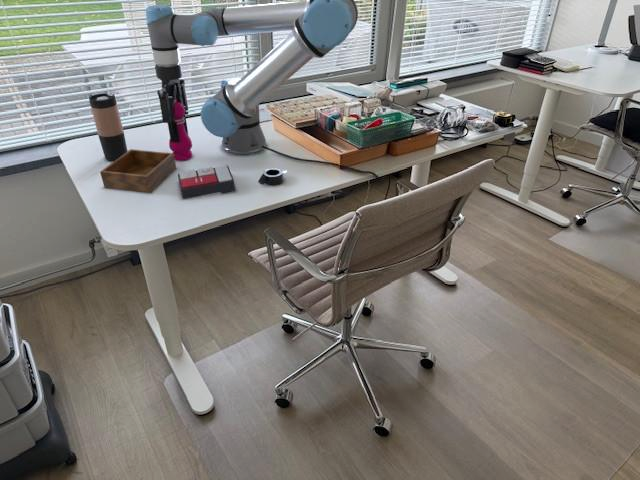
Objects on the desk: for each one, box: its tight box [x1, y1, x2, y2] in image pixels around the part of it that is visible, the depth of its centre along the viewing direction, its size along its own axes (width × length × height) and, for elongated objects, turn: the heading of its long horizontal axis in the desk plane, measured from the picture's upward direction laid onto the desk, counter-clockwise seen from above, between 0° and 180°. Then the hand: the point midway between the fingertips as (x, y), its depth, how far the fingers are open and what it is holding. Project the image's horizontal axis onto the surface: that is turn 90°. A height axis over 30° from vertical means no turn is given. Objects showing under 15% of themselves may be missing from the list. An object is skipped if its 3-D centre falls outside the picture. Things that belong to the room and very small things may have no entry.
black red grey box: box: [177, 164, 236, 200], centre depth 135 cm, size 11×4×15 cm
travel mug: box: [88, 93, 128, 163], centre depth 146 cm, size 8×8×20 cm
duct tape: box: [257, 167, 288, 187], centre depth 139 cm, size 8×10×3 cm
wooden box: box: [99, 148, 177, 194], centre depth 138 cm, size 15×17×5 cm
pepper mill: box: [168, 100, 193, 162], centre depth 147 cm, size 7×7×20 cm
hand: (179, 138), depth 149 cm, fingers closed on pepper mill, 6 cm apart
